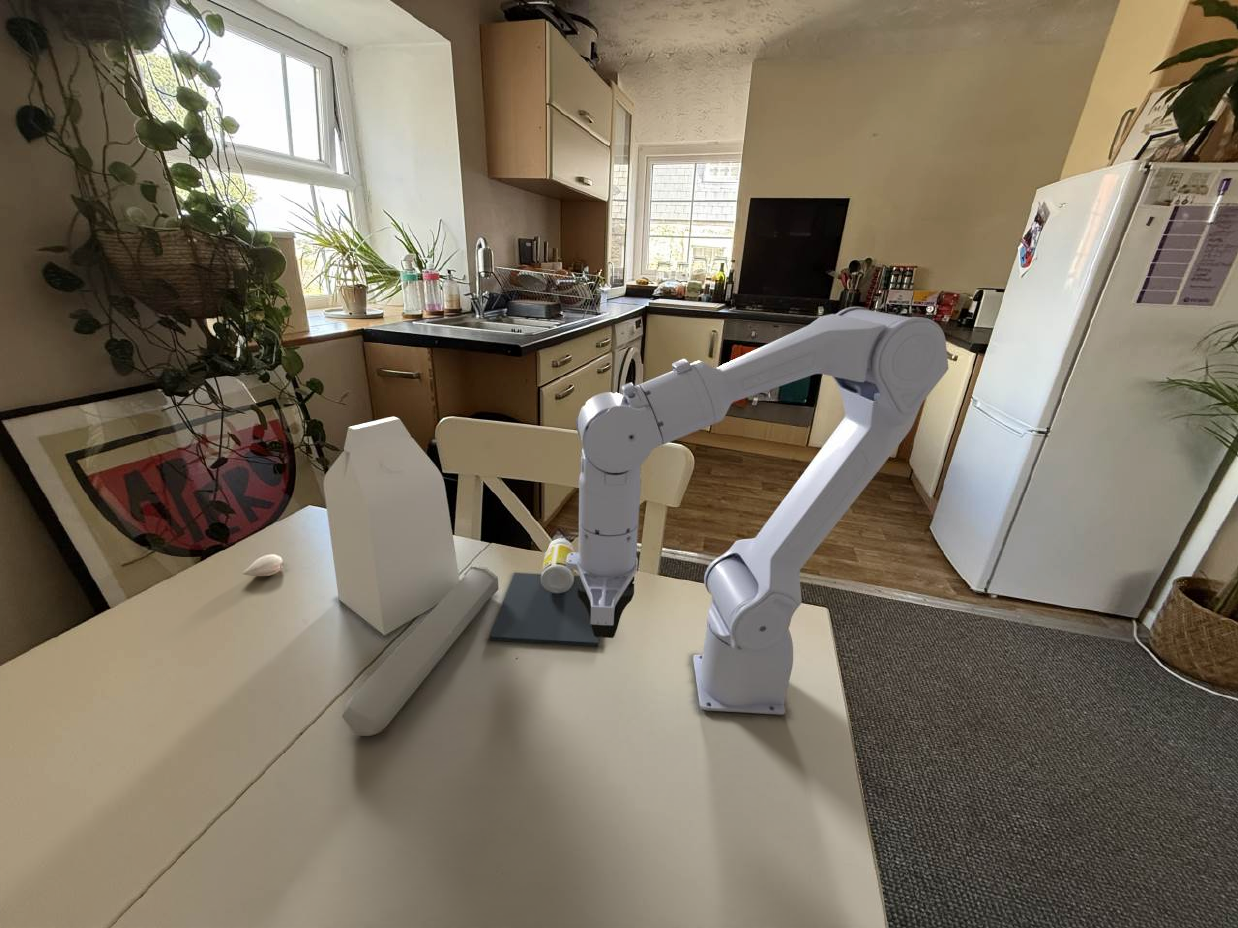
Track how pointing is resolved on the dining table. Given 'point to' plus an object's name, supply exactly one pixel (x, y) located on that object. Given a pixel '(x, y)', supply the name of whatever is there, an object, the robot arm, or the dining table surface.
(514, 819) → the dining table surface
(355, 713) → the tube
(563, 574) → the supplement bottle
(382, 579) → the milk
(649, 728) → the dining table surface
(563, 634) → the mat
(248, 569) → the white garlic clove
